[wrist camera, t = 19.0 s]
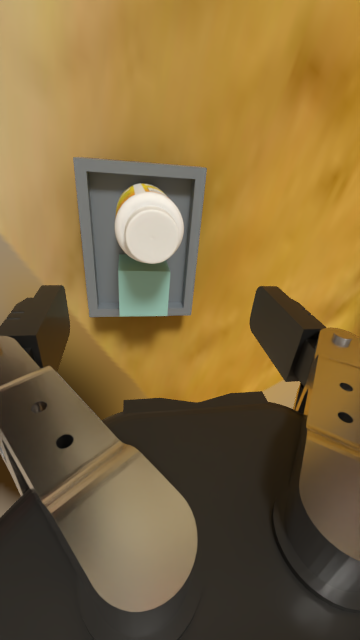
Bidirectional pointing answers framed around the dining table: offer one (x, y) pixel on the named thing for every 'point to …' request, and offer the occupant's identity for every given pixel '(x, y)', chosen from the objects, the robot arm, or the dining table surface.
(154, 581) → the robot arm
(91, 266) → the tray
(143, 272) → the teal block
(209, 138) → the dining table surface
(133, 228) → the supplement bottle
